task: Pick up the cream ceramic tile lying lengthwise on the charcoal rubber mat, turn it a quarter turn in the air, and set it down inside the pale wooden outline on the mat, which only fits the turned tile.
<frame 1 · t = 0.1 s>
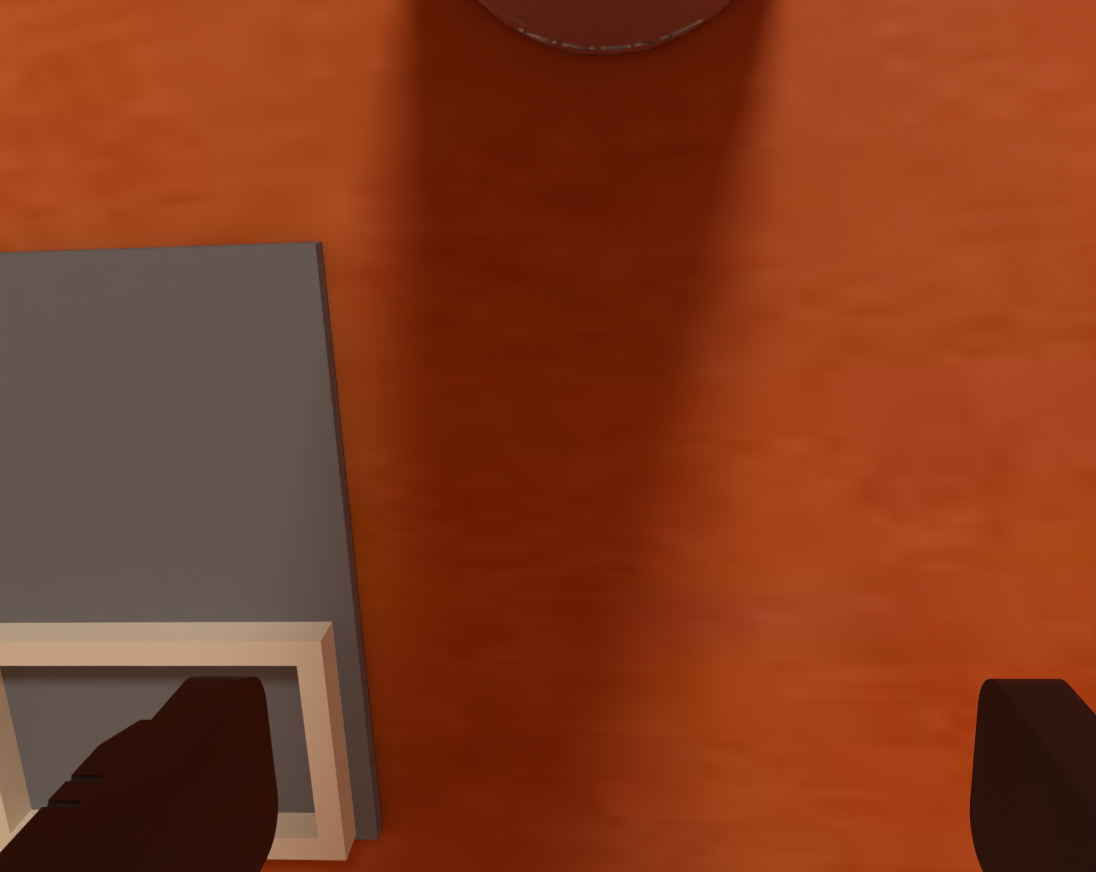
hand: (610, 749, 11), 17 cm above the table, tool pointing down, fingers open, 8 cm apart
mat: (83, 563, 30), on the table
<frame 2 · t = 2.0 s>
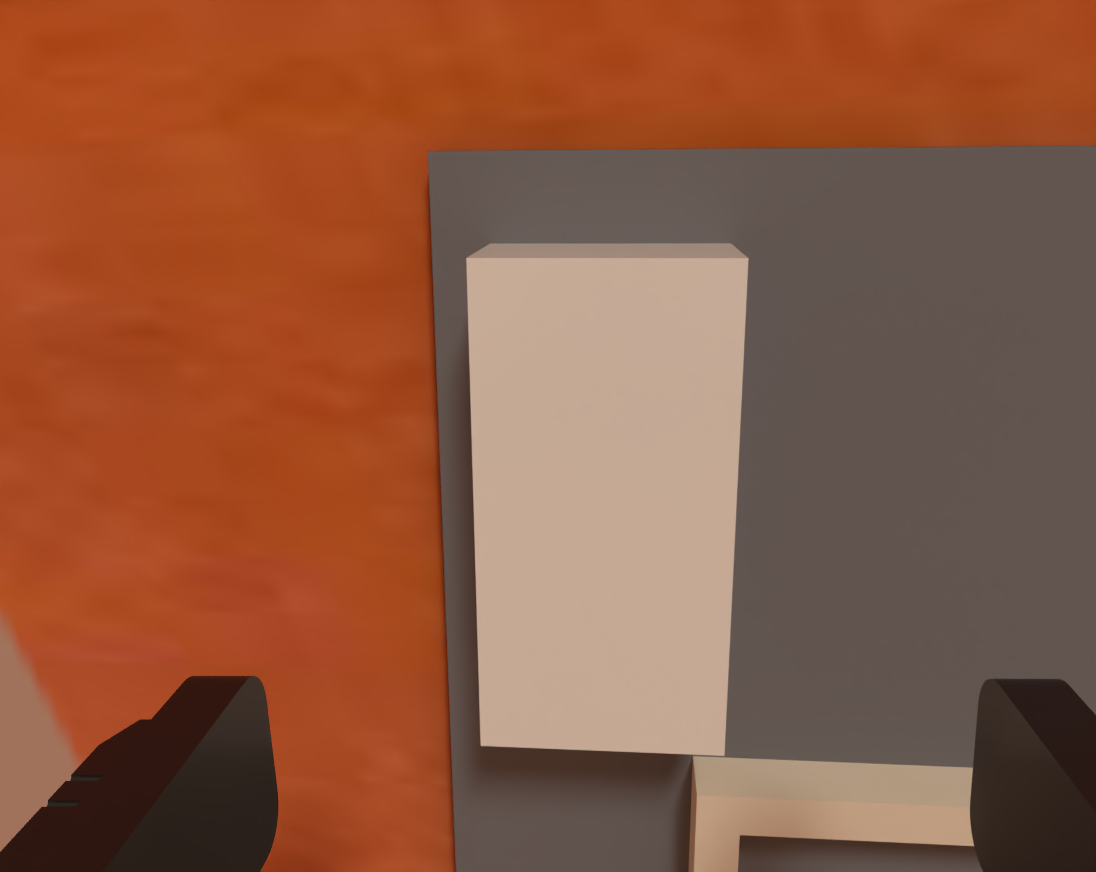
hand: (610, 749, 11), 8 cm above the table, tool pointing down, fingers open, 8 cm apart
mat: (895, 667, 19), on the table
tile: (607, 472, 17), point 1 cm above the table, touching mat
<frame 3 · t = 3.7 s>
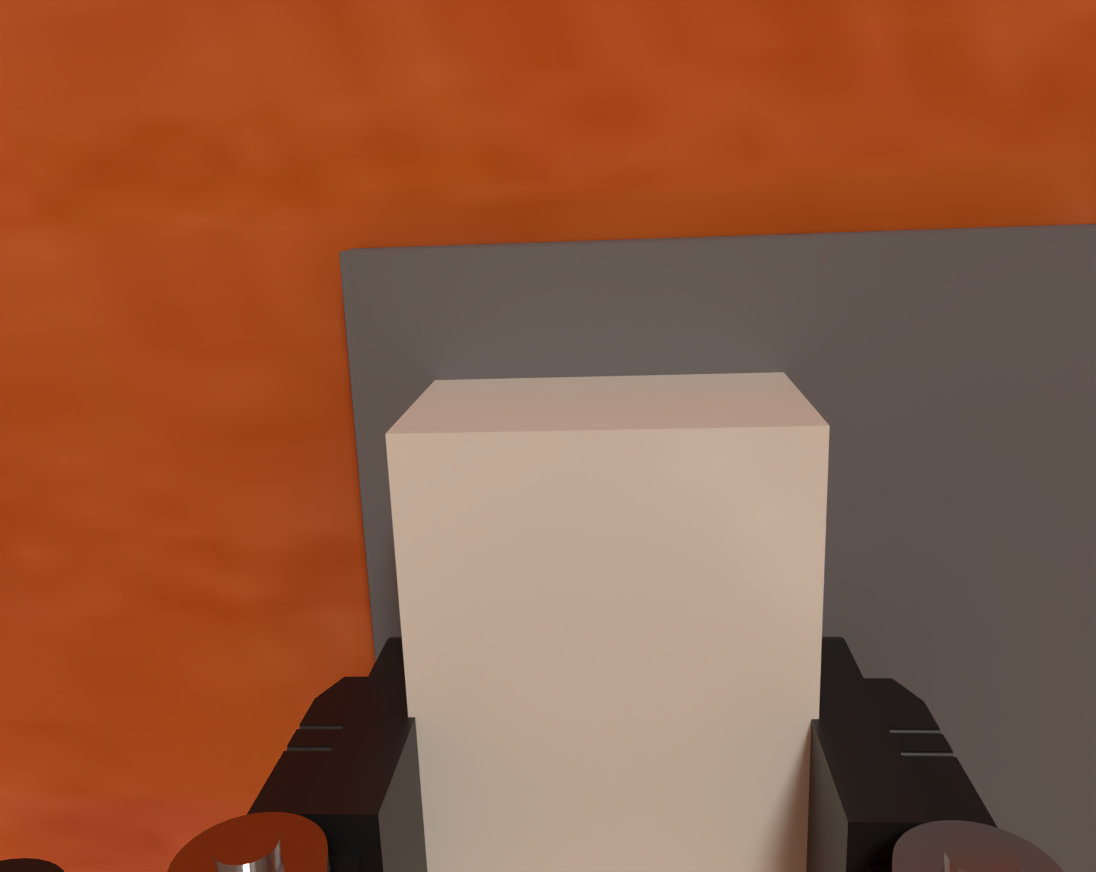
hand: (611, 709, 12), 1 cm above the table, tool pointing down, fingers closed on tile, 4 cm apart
tile: (613, 690, 12), point 1 cm above the table, touching gripper, mat
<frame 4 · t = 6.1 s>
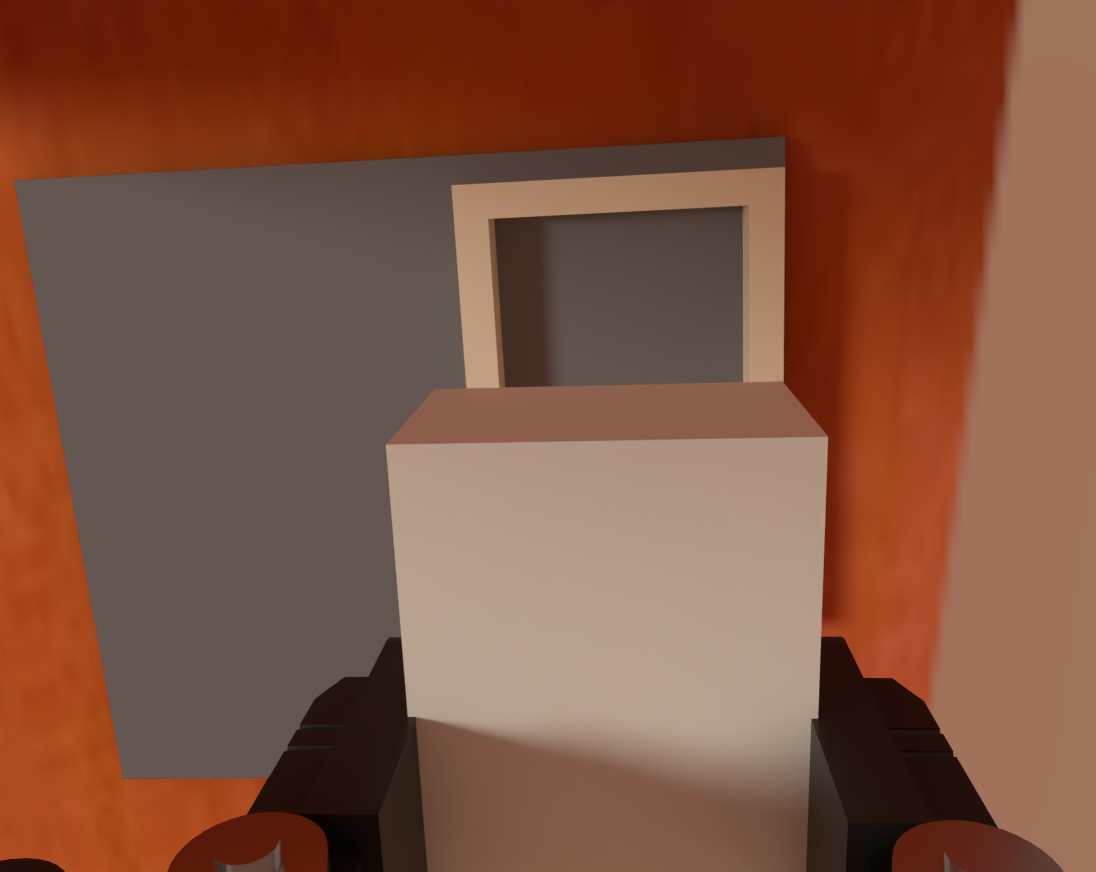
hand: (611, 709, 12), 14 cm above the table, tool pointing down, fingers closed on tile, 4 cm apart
mat: (422, 486, 26), on the table
tile: (613, 697, 12), point 14 cm above the table, touching gripper
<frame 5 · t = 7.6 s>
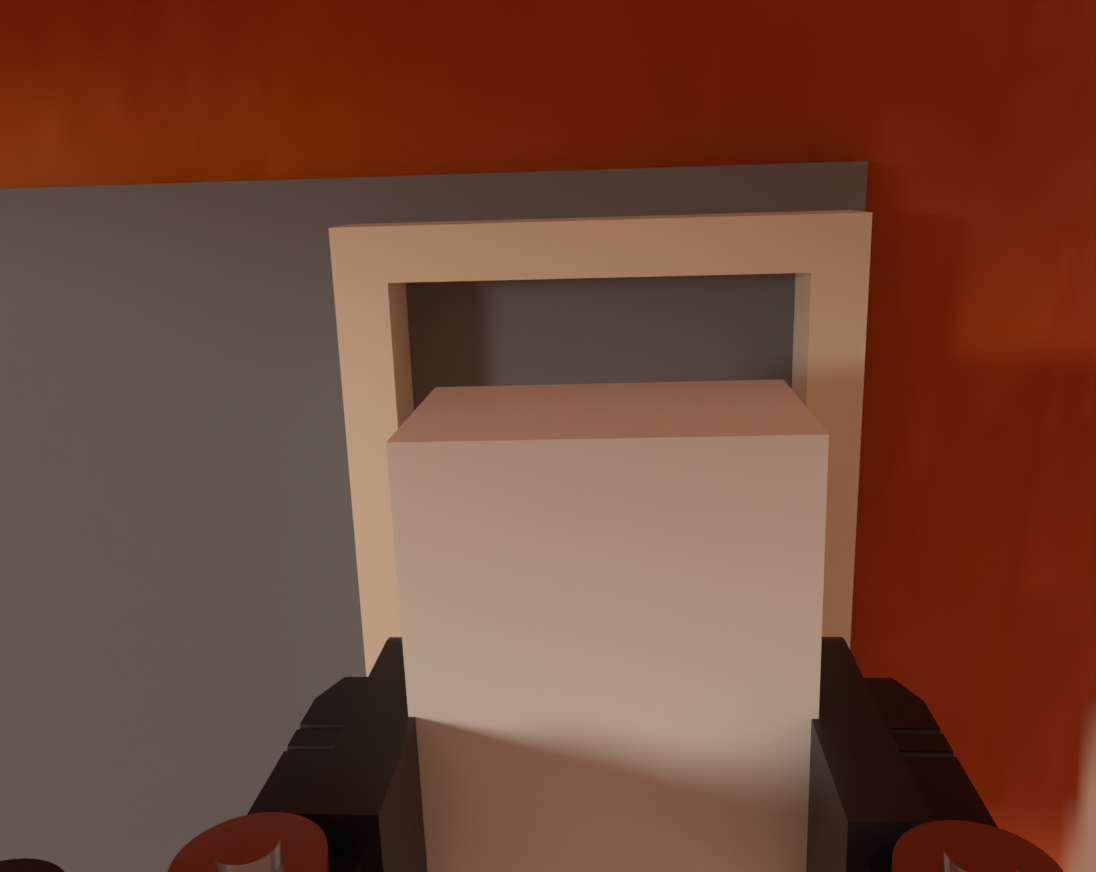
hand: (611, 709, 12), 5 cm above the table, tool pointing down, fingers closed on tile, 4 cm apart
mat: (301, 664, 18), on the table
tile: (614, 696, 12), point 5 cm above the table, touching gripper
when the fingers open (2 cm above the table, at t = 8.9 s): tile drops 1 cm, resting on mat.
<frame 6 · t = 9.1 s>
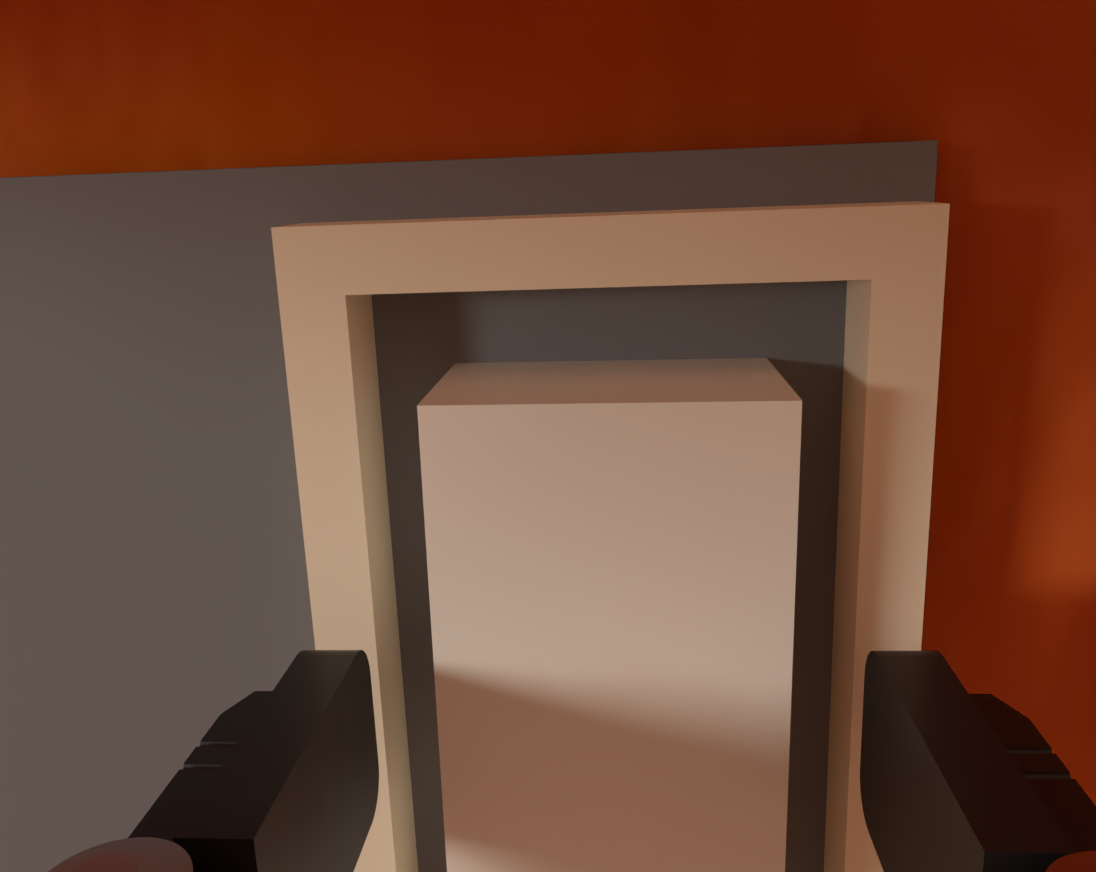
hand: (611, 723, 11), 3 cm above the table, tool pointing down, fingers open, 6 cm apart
mat: (257, 742, 15), on the table
tile: (613, 644, 14), point 1 cm above the table, touching mat
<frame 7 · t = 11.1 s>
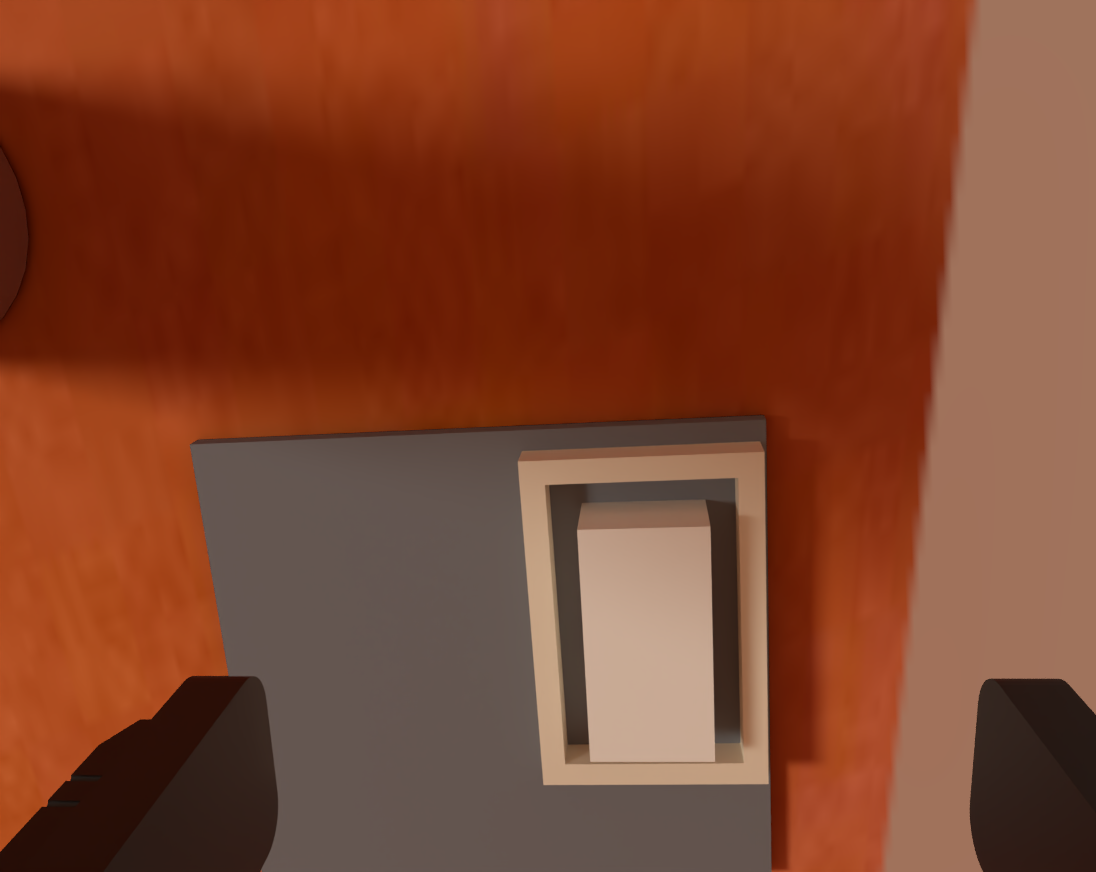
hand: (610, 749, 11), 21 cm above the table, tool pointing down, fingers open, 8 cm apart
mat: (493, 660, 35), on the table
tile: (647, 613, 33), point 1 cm above the table, touching mat
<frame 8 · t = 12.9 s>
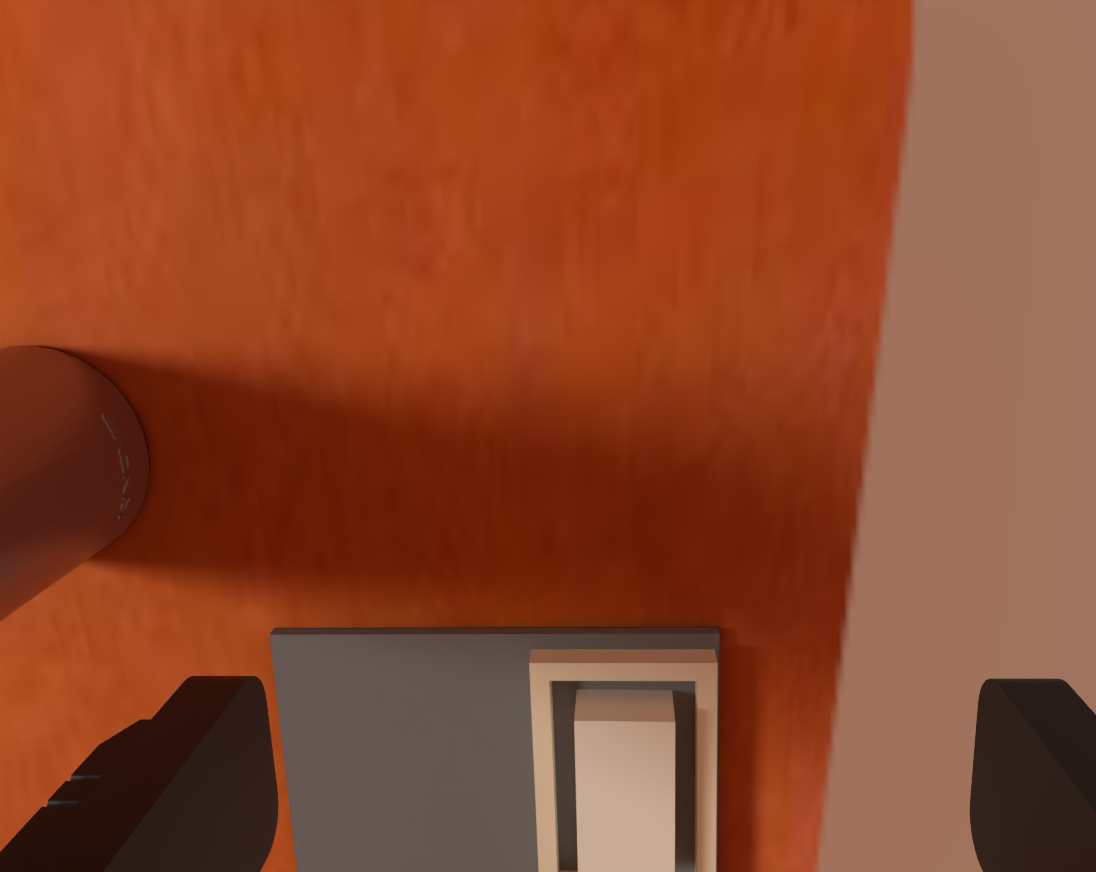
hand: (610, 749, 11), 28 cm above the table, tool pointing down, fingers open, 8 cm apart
mat: (502, 802, 44), on the table
tile: (625, 773, 42), point 1 cm above the table, touching mat
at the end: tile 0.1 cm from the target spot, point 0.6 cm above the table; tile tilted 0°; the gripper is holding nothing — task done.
